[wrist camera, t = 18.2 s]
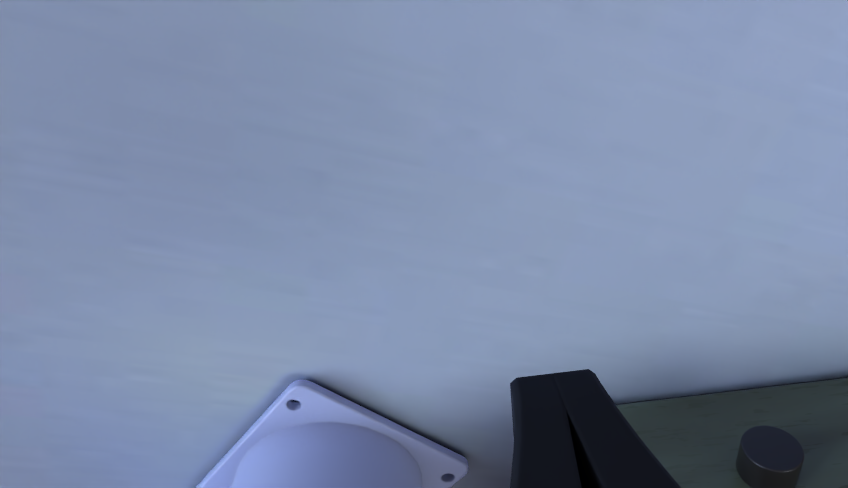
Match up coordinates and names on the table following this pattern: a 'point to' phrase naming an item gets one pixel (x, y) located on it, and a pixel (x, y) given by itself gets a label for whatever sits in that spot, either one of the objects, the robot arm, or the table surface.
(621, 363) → the table surface
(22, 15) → the table surface
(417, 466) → the robot arm
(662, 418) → the drawer
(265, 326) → the table surface
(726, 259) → the table surface
